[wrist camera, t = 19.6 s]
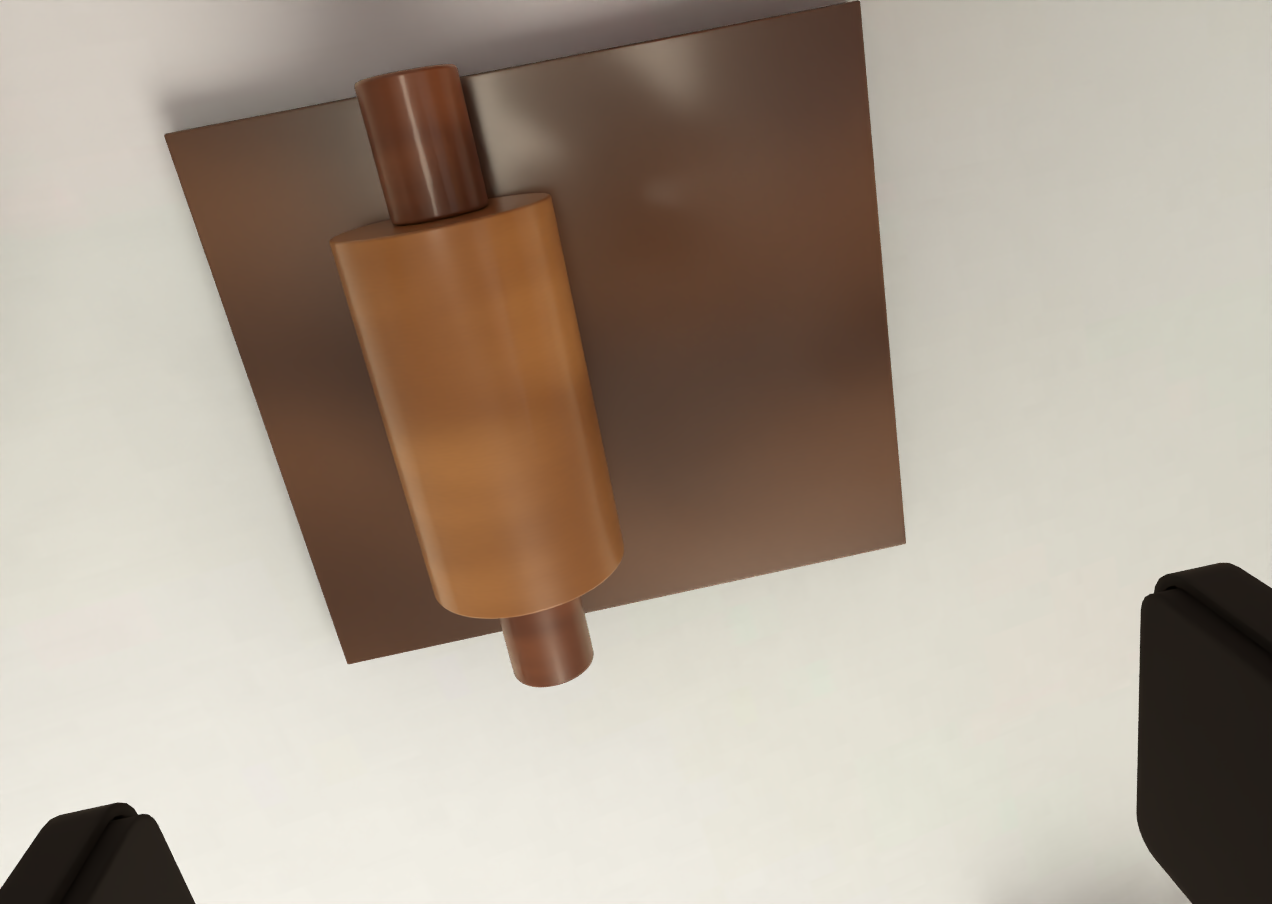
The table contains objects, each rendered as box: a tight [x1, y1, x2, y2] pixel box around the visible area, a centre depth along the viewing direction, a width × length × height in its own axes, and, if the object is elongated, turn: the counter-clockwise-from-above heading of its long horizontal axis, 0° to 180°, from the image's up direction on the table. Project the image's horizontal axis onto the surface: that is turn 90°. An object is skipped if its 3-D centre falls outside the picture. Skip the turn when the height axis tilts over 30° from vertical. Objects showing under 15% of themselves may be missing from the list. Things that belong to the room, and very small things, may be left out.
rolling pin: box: [329, 64, 624, 687], centre depth 22 cm, size 15×5×5 cm
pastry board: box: [164, 0, 906, 664], centre depth 25 cm, size 15×17×1 cm
